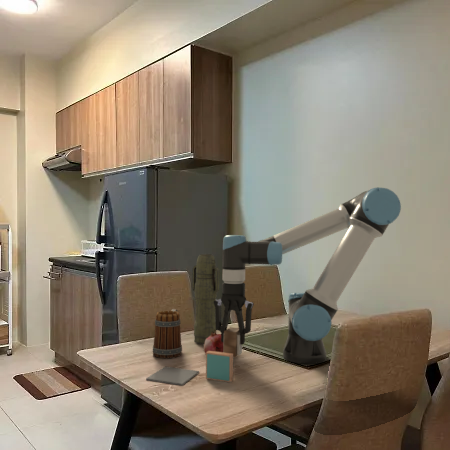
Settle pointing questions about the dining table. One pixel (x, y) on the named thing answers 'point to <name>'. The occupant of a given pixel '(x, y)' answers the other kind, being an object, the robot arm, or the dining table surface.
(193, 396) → the dining table surface
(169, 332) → the mug
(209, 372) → the tile
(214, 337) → the fruit
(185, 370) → the coaster
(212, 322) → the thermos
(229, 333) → the push block
